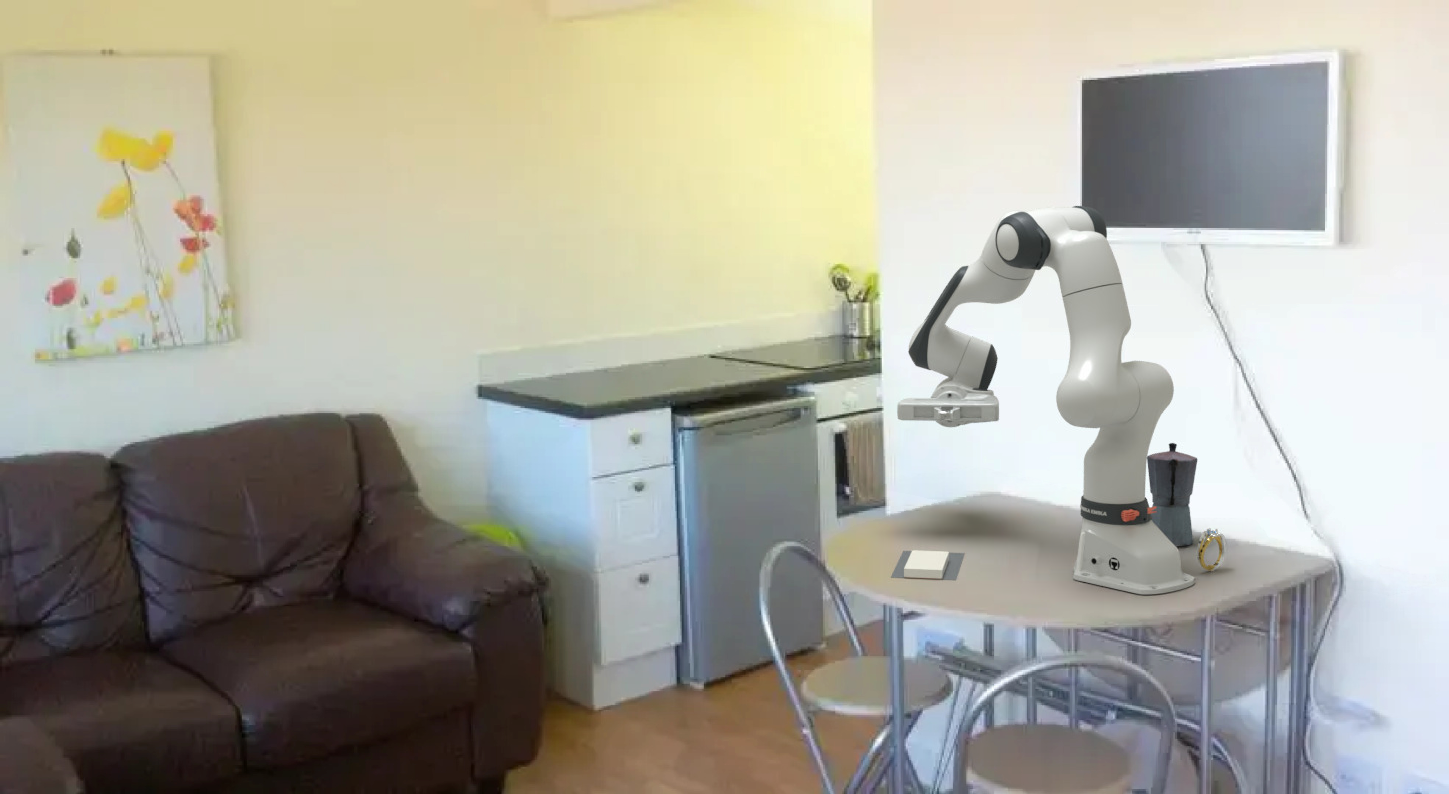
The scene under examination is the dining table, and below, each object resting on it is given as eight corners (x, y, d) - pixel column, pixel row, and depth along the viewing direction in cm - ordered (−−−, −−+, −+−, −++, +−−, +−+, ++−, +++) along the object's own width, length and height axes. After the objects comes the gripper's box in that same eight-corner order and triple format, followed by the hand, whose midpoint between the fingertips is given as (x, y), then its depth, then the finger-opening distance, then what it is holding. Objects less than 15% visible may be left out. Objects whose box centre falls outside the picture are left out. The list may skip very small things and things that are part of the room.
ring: (1204, 576, 281) (1205, 533, 280) (1191, 572, 284) (1191, 530, 282) (1231, 570, 284) (1232, 528, 283) (1218, 566, 287) (1219, 524, 286)
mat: (903, 553, 302) (903, 550, 302) (964, 555, 299) (964, 553, 299) (890, 580, 284) (890, 577, 284) (955, 582, 281) (955, 580, 281)
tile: (912, 550, 295) (903, 568, 283) (948, 551, 293) (942, 570, 281) (912, 559, 295) (904, 578, 283) (949, 560, 294) (942, 579, 281)
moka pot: (1191, 534, 311) (1193, 437, 307) (1201, 554, 296) (1203, 452, 292) (1142, 533, 312) (1144, 436, 309) (1149, 553, 297) (1151, 451, 294)
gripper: (900, 389, 316) (892, 400, 303) (1000, 390, 311) (997, 400, 298) (900, 419, 317) (892, 431, 304) (1001, 420, 312) (997, 432, 299)
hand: (945, 416), depth 301 cm, fingers closed
